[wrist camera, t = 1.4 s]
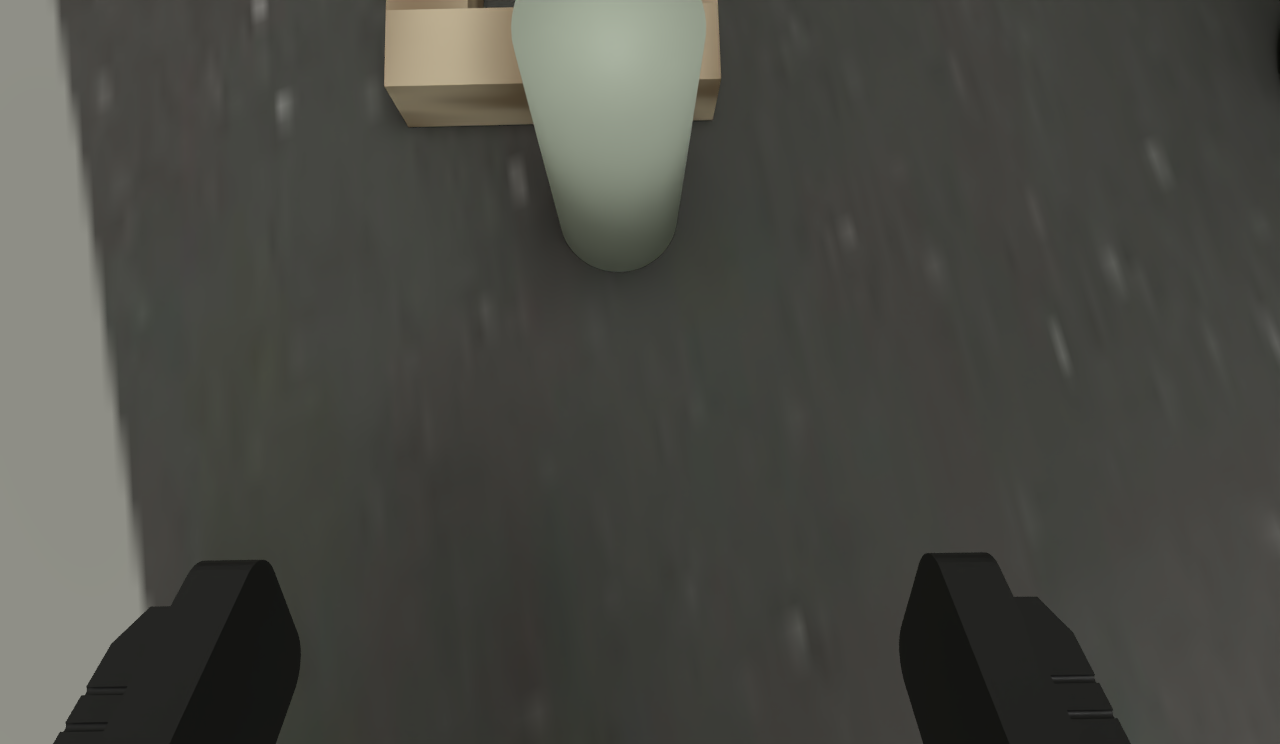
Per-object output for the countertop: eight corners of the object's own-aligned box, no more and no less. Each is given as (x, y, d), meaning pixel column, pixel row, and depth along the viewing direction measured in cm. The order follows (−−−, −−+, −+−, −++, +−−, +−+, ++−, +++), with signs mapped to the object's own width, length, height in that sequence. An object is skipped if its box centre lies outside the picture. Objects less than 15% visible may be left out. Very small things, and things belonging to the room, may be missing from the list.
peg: (675, 157, 30) (701, -65, 18) (679, 270, 30) (709, 115, 18) (558, 160, 30) (510, -61, 18) (560, 273, 30) (511, 120, 18)
